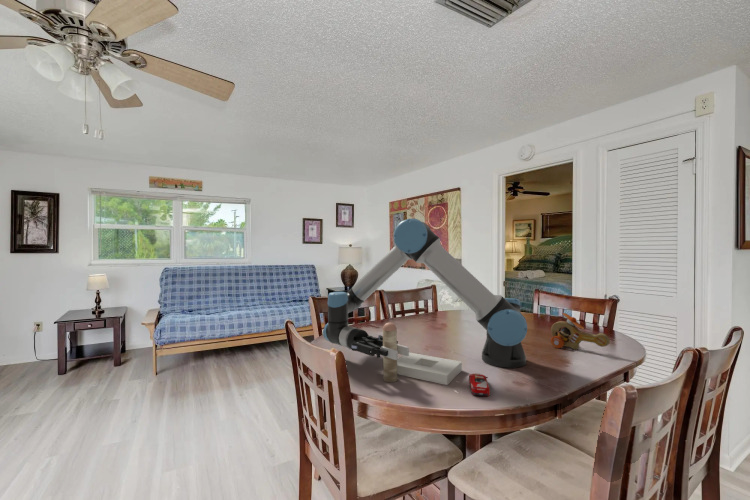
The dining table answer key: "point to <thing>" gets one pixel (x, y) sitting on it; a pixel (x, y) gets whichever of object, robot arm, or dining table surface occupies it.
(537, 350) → the dining table surface
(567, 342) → the toy helicopter
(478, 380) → the race car
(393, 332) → the round-tipped rod
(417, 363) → the block
